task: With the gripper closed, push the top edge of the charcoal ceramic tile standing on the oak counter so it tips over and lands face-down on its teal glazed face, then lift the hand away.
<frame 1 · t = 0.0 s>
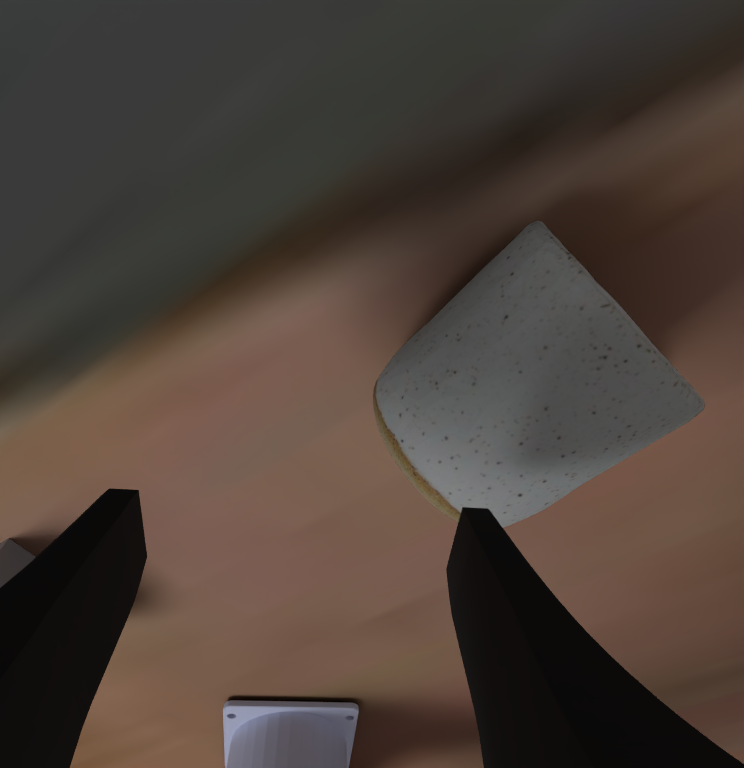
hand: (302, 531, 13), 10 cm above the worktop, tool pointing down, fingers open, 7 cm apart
ceramic mug: (520, 350, 22), on the worktop
tile: (49, 580, 27), on the worktop
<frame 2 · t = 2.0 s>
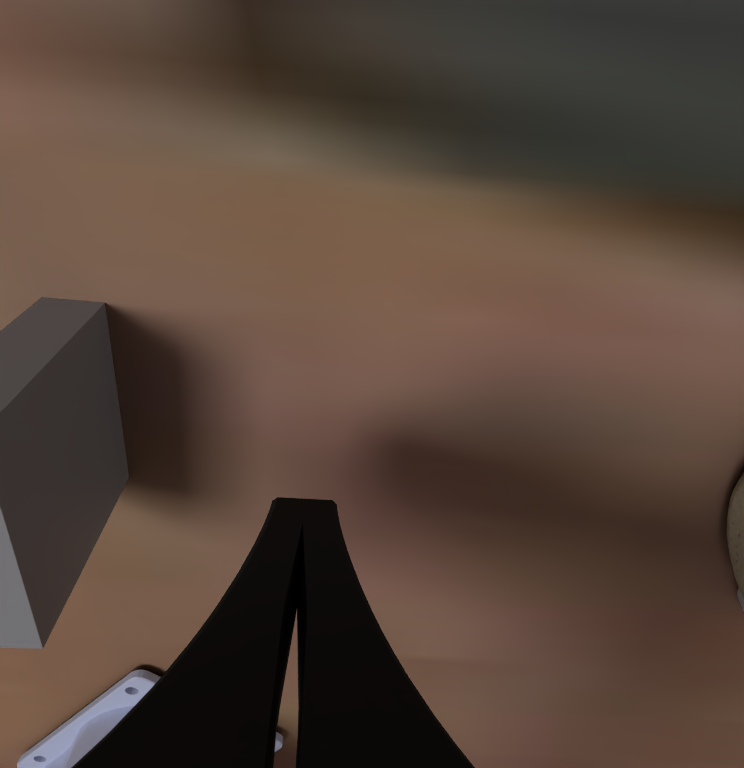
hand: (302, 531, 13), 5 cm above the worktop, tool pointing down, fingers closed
tile: (90, 395, 16), on the worktop
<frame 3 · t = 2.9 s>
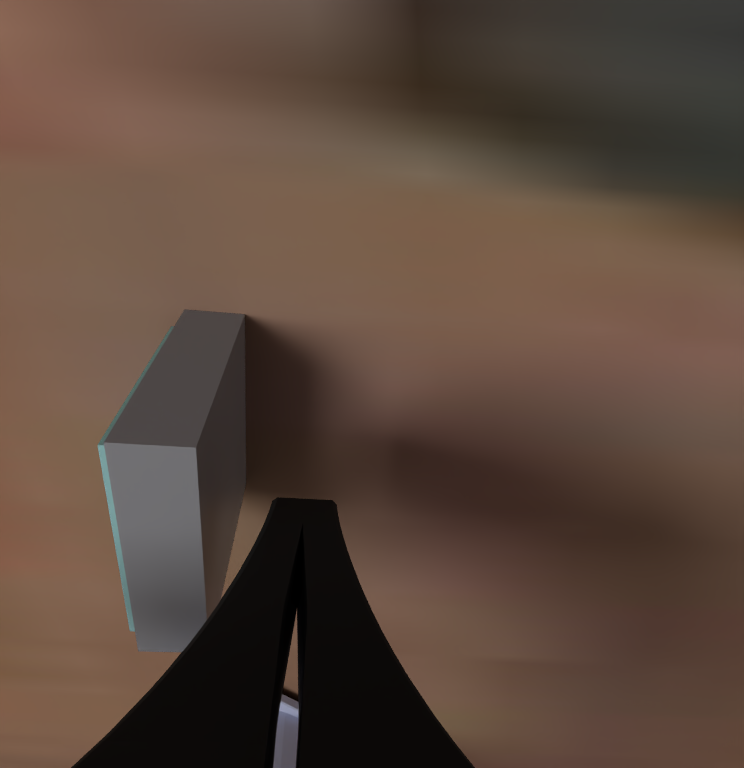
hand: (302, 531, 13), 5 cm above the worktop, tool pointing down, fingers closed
tile: (218, 404, 17), on the worktop
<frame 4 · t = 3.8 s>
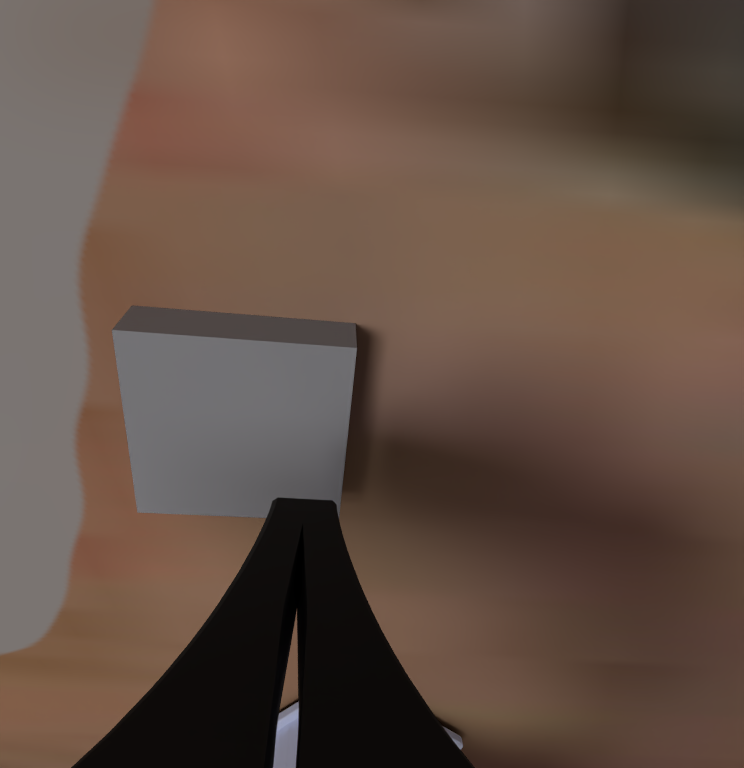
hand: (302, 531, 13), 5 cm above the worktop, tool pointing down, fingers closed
tile: (346, 426, 16), point 1 cm above the worktop, tilted 90°
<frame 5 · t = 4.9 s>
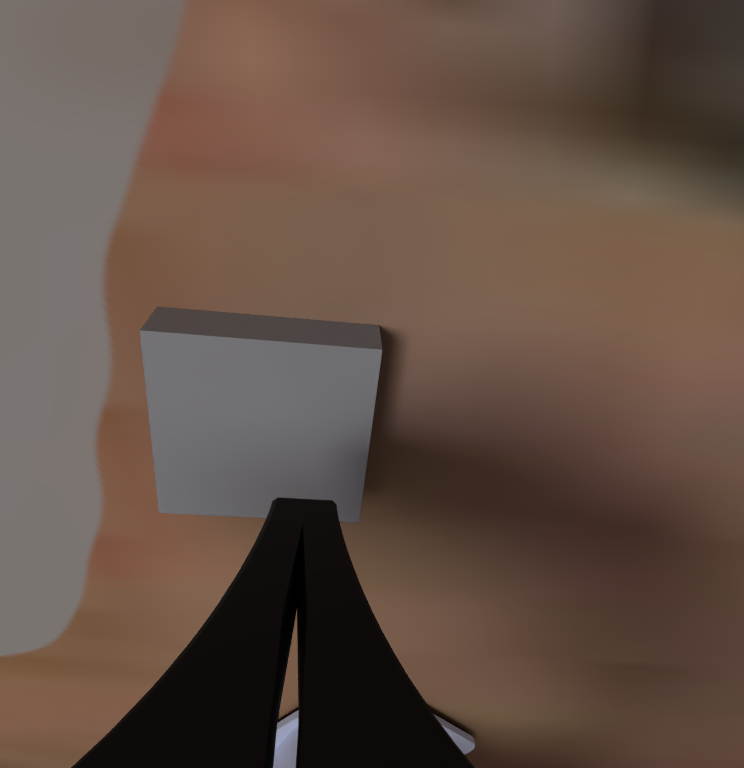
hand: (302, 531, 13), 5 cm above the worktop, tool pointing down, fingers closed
tile: (368, 428, 16), point 1 cm above the worktop, tilted 90°
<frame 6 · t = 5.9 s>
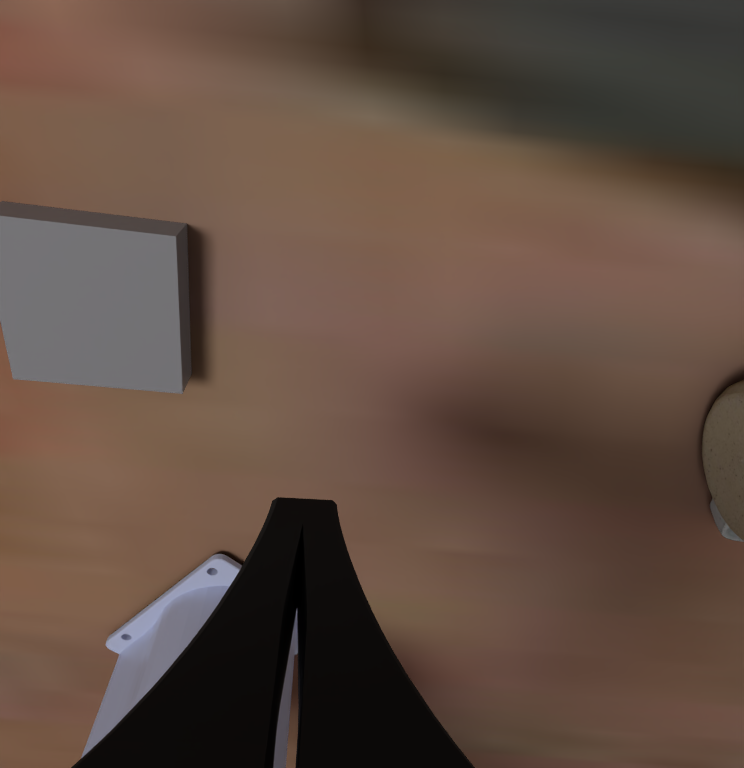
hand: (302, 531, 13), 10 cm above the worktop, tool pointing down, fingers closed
tile: (184, 311, 20), point 1 cm above the worktop, tilted 90°
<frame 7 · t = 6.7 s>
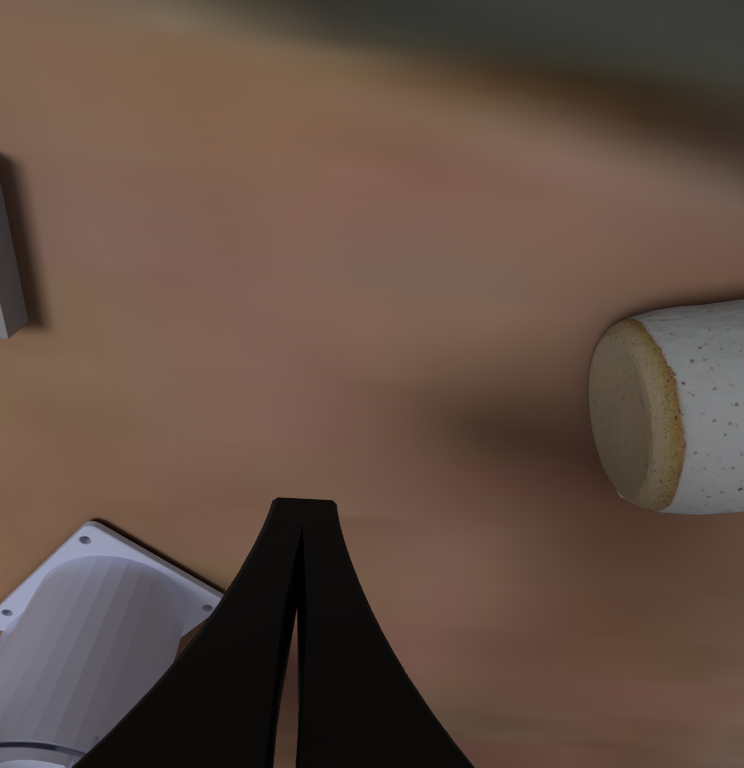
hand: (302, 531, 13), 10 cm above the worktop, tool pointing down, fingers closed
ceramic mug: (676, 381, 24), on the worktop
tile: (1, 248, 19), point 1 cm above the worktop, tilted 90°
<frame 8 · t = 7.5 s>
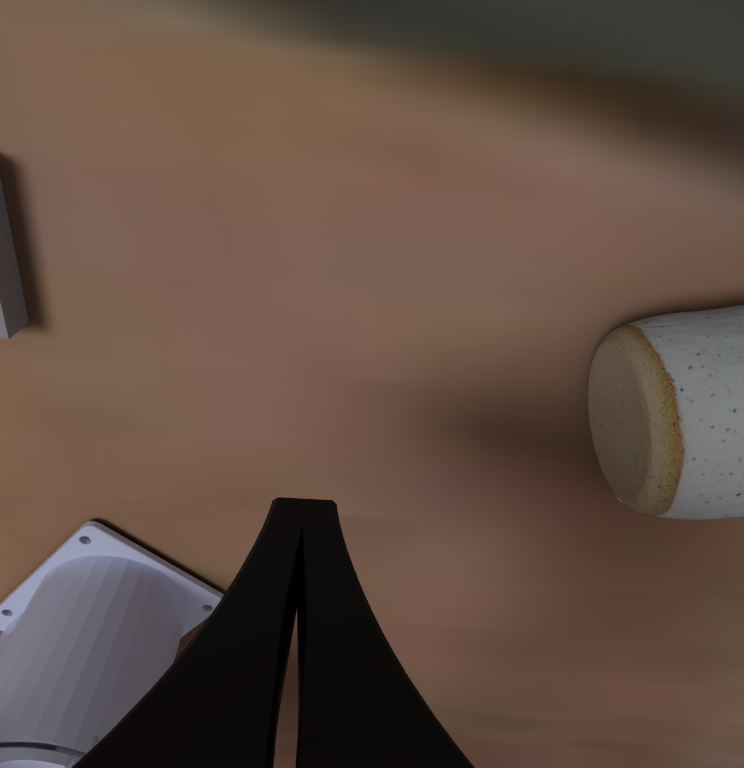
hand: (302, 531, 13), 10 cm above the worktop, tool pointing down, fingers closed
ceramic mug: (674, 386, 24), on the worktop
tile: (2, 248, 19), point 1 cm above the worktop, tilted 90°
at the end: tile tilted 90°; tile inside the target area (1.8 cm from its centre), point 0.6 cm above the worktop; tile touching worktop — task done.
